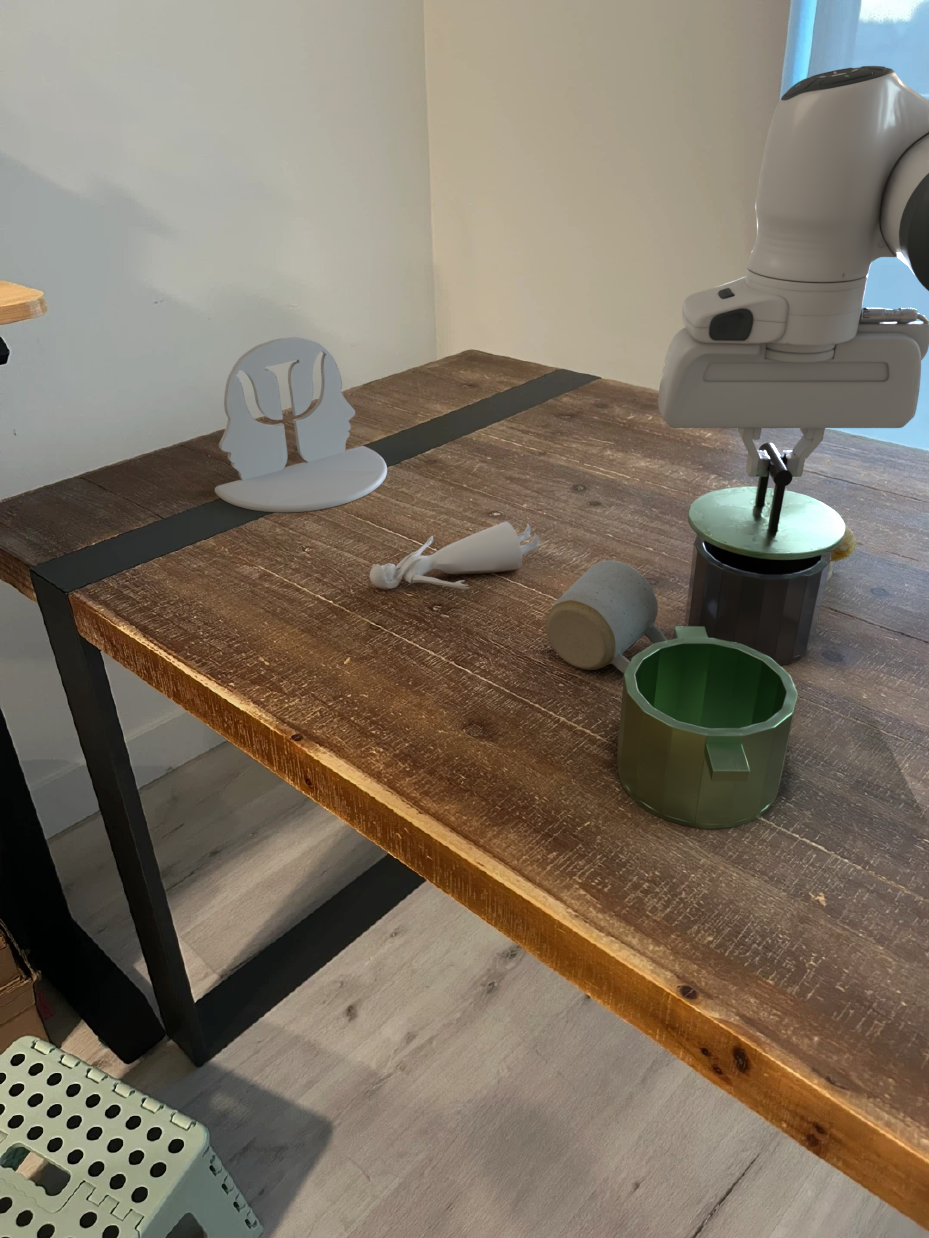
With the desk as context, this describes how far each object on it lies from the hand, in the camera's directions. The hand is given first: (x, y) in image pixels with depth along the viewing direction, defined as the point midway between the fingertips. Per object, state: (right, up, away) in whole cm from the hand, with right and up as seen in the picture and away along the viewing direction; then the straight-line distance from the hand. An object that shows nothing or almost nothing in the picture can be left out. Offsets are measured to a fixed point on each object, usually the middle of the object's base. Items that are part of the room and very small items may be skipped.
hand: (772, 474), depth 83 cm
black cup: (0, -14, +8) cm, 16 cm away
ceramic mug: (-13, -16, +6) cm, 21 cm away
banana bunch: (+9, -6, +21) cm, 23 cm away
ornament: (-44, +4, +38) cm, 59 cm away
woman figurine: (-27, -8, +19) cm, 34 cm away
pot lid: (0, -4, +3) cm, 5 cm away
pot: (-8, -24, -8) cm, 27 cm away
